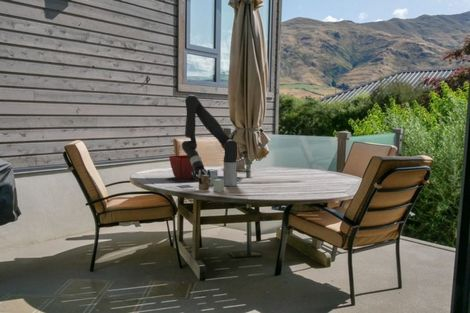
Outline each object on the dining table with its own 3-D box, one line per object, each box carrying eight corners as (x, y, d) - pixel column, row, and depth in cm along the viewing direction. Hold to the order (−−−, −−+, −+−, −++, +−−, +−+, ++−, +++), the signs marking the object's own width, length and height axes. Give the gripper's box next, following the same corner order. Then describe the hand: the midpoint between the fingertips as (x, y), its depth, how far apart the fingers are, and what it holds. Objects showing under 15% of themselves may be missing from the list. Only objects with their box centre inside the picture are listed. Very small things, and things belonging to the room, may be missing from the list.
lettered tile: (206, 188, 298) (206, 188, 297) (212, 190, 290) (212, 190, 290) (194, 189, 293) (194, 189, 293) (201, 192, 285) (201, 191, 285)
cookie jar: (249, 171, 387) (250, 135, 383) (221, 170, 386) (222, 135, 383) (247, 167, 411) (248, 134, 408) (222, 167, 411) (222, 133, 407)
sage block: (218, 190, 292) (218, 178, 291) (223, 191, 289) (224, 179, 288) (213, 191, 288) (213, 179, 287) (218, 192, 285) (218, 180, 284)
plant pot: (180, 180, 330) (180, 158, 328) (168, 176, 345) (168, 156, 343) (201, 178, 341) (201, 157, 339) (189, 175, 356) (189, 154, 355)
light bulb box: (211, 183, 321) (211, 168, 320) (217, 184, 316) (218, 169, 315) (201, 184, 312) (201, 170, 311) (207, 186, 308) (208, 171, 307)
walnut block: (205, 188, 295) (205, 174, 294) (208, 190, 291) (209, 175, 289) (198, 189, 292) (198, 174, 291) (202, 190, 288) (202, 175, 287)
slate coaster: (187, 185, 307) (187, 184, 307) (193, 187, 300) (193, 186, 300) (176, 186, 302) (176, 185, 302) (182, 188, 295) (182, 187, 295)
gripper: (189, 160, 291) (197, 181, 283) (207, 159, 299) (216, 179, 291) (185, 167, 296) (193, 187, 288) (204, 166, 304) (212, 185, 296)
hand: (205, 183), depth 289 cm, fingers closed on walnut block, 5 cm apart
